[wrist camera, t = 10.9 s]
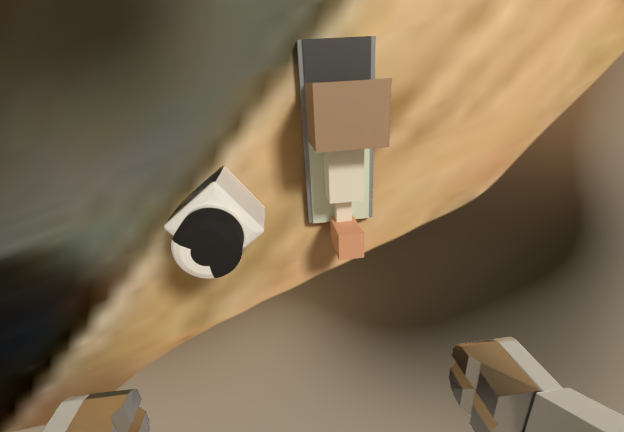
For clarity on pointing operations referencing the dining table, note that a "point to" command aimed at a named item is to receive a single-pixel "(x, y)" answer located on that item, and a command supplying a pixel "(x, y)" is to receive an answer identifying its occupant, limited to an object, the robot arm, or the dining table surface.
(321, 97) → the tunnel board
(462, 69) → the dining table surface
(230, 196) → the medicine bottle
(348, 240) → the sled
